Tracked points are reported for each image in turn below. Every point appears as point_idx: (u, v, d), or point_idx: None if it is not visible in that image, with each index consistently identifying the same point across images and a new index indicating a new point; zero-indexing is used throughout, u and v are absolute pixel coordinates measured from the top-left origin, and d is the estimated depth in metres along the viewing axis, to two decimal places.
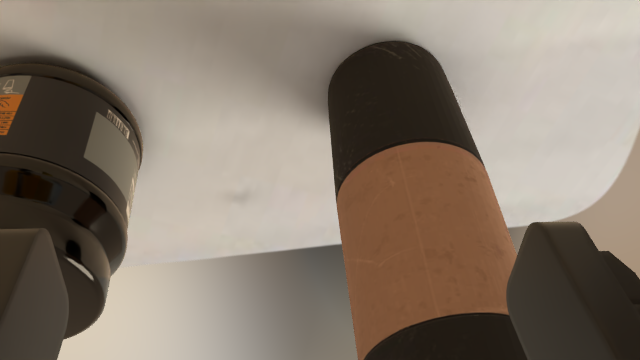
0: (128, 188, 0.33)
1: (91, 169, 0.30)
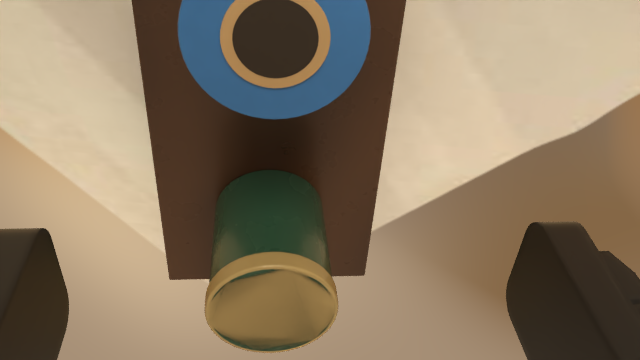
0: None
1: None
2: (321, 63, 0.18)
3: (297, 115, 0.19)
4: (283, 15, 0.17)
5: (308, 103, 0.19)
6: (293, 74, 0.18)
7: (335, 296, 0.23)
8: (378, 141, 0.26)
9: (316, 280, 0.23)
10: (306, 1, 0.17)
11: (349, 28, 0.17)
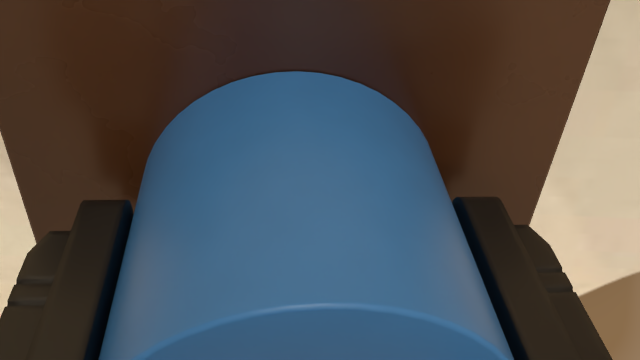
0: None
1: None
2: None
3: None
4: None
5: None
6: None
7: None
8: None
9: None
10: None
11: None
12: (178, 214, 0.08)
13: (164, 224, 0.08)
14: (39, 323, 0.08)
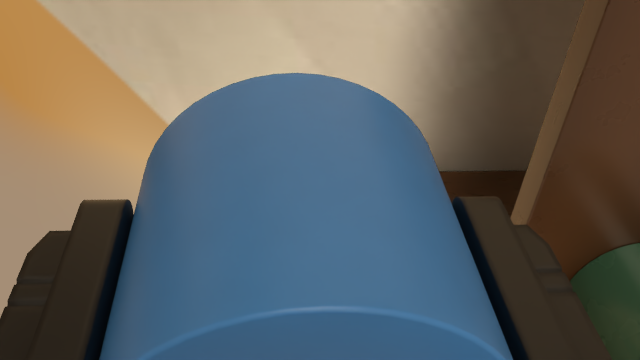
0: None
1: None
2: None
3: None
4: None
5: None
6: None
7: None
8: None
9: None
10: None
11: None
12: (178, 216, 0.08)
13: (164, 226, 0.08)
14: (39, 323, 0.08)
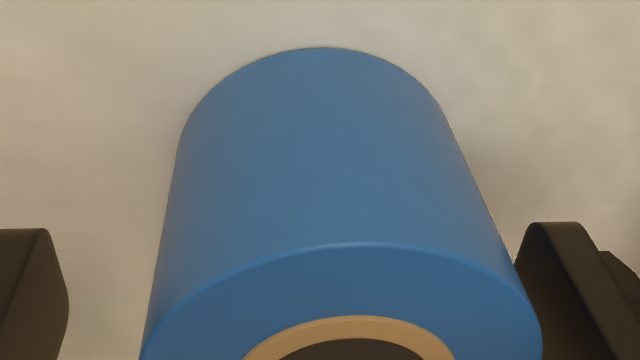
0: None
1: None
2: None
3: None
4: (363, 359, 0.08)
5: None
6: None
7: None
8: None
9: None
10: (415, 336, 0.08)
11: None
12: (220, 173, 0.08)
13: (207, 183, 0.09)
14: None
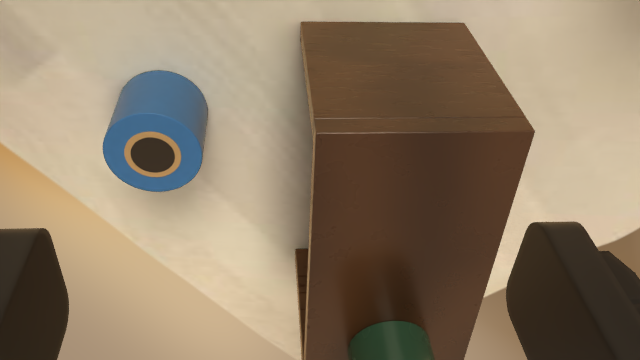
0: None
1: None
2: (178, 165, 0.35)
3: (171, 189, 0.36)
4: (155, 144, 0.34)
5: (175, 183, 0.36)
6: (164, 170, 0.35)
7: None
8: (478, 300, 0.34)
9: None
10: (165, 138, 0.34)
11: (190, 148, 0.35)
12: (123, 102, 0.35)
13: (120, 105, 0.35)
14: None
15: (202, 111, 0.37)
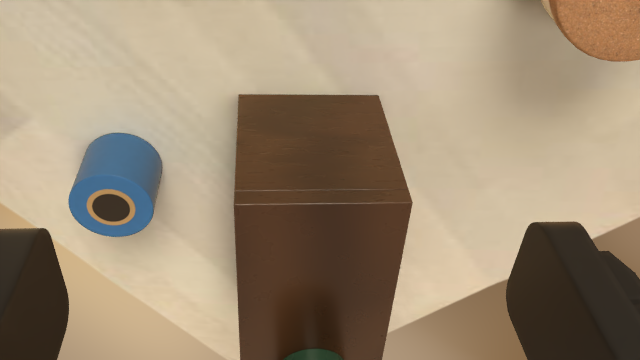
0: None
1: None
2: (133, 215, 0.42)
3: (127, 234, 0.43)
4: (112, 199, 0.41)
5: (131, 230, 0.43)
6: (122, 220, 0.42)
7: None
8: (383, 332, 0.41)
9: None
10: (121, 194, 0.41)
11: (142, 202, 0.41)
12: (86, 163, 0.41)
13: (84, 165, 0.41)
14: None
15: (155, 168, 0.43)
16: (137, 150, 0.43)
